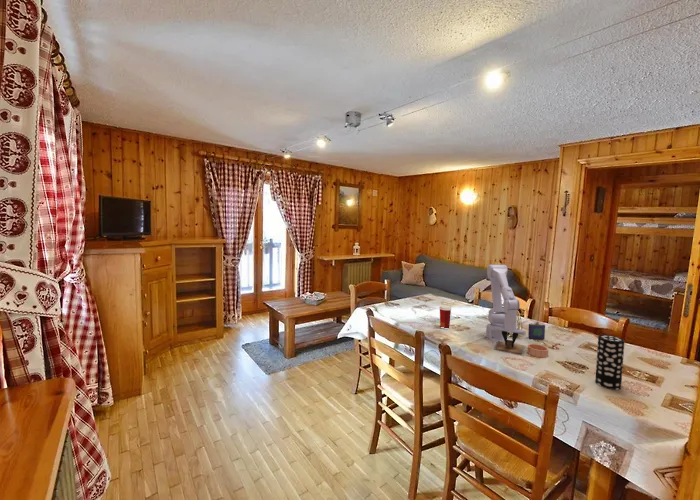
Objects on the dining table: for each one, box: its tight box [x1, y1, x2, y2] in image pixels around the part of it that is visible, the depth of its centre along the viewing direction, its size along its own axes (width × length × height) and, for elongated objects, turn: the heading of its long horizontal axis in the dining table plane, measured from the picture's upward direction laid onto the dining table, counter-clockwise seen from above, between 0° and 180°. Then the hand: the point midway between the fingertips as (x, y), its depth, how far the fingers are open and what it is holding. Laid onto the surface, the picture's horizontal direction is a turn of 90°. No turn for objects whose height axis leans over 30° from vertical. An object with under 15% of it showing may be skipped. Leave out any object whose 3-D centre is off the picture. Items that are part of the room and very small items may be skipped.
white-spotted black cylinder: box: [594, 334, 625, 391], centre depth 127 cm, size 8×8×20 cm
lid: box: [495, 339, 524, 356], centre depth 164 cm, size 12×12×4 cm
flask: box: [527, 321, 546, 341], centre depth 179 cm, size 9×3×11 cm, turn 88°
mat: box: [493, 341, 525, 357], centre depth 164 cm, size 14×14×1 cm
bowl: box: [527, 343, 549, 359], centre depth 157 cm, size 9×9×4 cm
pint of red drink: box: [438, 304, 452, 329], centre depth 198 cm, size 8×8×14 cm
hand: (509, 345), depth 164 cm, fingers closed on lid, 2 cm apart
